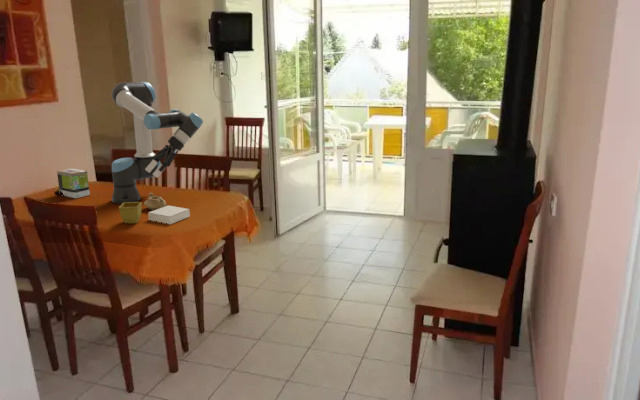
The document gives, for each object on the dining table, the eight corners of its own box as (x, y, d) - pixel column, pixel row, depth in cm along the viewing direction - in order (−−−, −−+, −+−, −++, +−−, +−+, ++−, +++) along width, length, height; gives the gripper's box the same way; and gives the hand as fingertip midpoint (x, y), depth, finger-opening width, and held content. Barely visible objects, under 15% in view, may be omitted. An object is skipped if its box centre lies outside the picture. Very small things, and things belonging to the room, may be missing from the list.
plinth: (148, 220, 250) (148, 212, 249) (168, 212, 262) (168, 205, 261) (170, 224, 244) (169, 216, 243) (189, 216, 256) (189, 209, 255)
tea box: (90, 195, 295) (87, 170, 291) (74, 199, 287) (71, 173, 283) (75, 191, 303) (72, 167, 299) (59, 195, 294) (55, 170, 290)
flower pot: (125, 219, 251) (123, 202, 248) (143, 219, 252) (141, 201, 249) (120, 225, 242) (118, 207, 240) (138, 224, 243) (137, 206, 241)
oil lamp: (158, 214, 260) (157, 199, 258) (139, 209, 268) (138, 195, 265) (174, 209, 268) (173, 194, 266) (156, 204, 276) (155, 190, 274)
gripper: (192, 148, 242) (164, 183, 238) (176, 142, 262) (149, 173, 258) (181, 138, 238) (151, 173, 234) (165, 132, 258) (138, 164, 254)
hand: (150, 173), depth 246 cm, fingers open, 13 cm apart
